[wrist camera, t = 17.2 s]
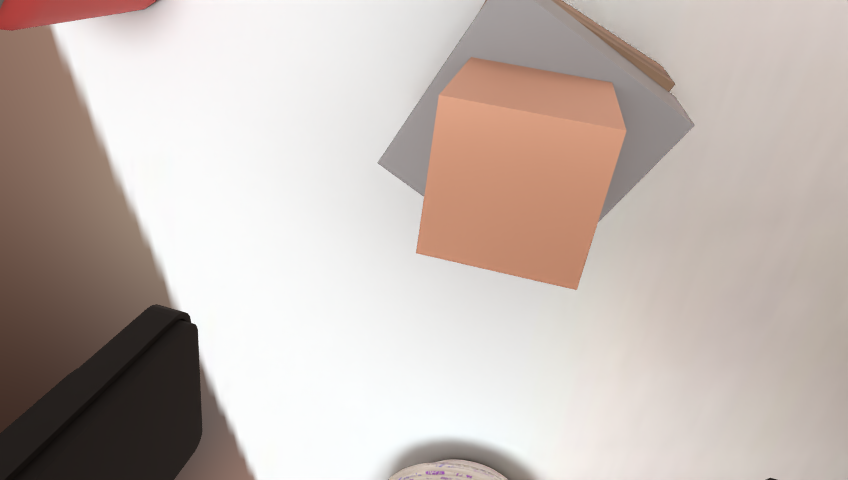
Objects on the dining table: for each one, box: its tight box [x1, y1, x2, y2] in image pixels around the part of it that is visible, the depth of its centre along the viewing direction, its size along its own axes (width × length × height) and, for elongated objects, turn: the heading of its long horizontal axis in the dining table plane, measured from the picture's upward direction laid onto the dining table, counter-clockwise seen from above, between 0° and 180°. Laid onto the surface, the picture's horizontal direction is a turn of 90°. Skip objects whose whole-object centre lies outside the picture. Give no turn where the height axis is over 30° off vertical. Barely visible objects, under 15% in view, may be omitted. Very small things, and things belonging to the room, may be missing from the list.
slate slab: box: [378, 0, 694, 222], centre depth 28 cm, size 10×10×5 cm
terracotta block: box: [416, 57, 627, 290], centre depth 23 cm, size 6×6×7 cm
